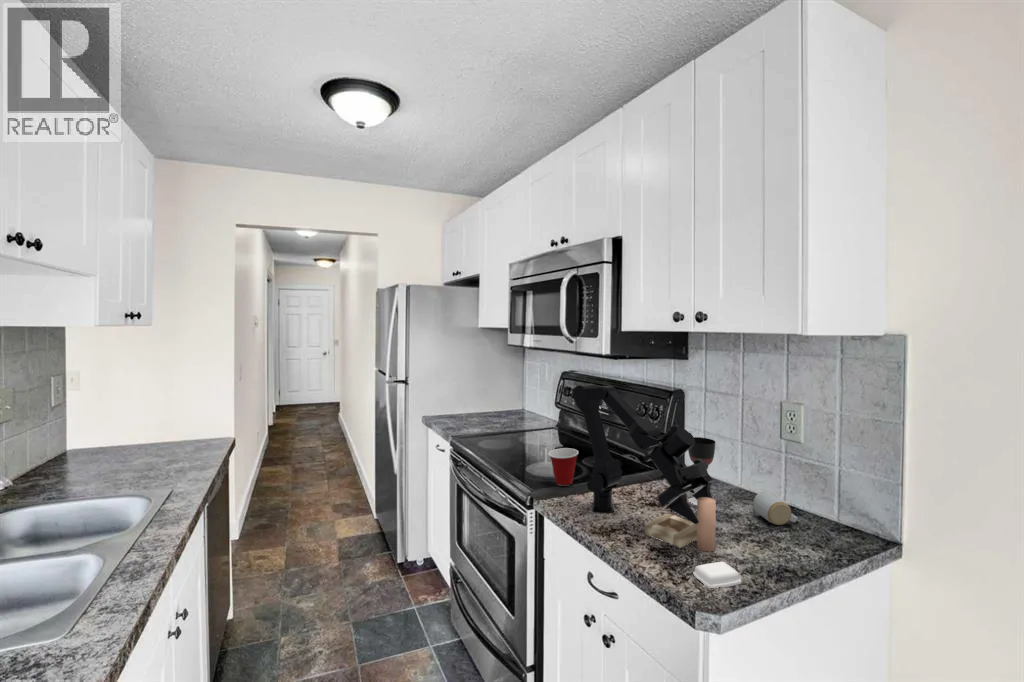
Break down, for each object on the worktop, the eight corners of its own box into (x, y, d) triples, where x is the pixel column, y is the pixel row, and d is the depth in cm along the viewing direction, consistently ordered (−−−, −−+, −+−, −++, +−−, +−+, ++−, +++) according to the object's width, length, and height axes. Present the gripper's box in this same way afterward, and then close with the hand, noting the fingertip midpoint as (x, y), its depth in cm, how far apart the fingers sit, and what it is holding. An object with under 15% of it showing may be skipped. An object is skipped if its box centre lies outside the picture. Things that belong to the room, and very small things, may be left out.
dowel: (694, 543, 128) (695, 496, 127) (712, 544, 127) (712, 497, 127) (699, 551, 123) (700, 503, 123) (717, 552, 123) (718, 503, 122)
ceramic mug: (768, 527, 137) (769, 500, 137) (752, 515, 146) (753, 490, 145) (804, 526, 138) (805, 500, 138) (786, 515, 146) (787, 490, 146)
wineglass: (698, 508, 151) (699, 444, 150) (681, 498, 160) (682, 438, 159) (720, 505, 153) (721, 442, 152) (702, 495, 162) (703, 436, 161)
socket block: (644, 534, 133) (644, 523, 133) (667, 523, 140) (667, 513, 140) (680, 548, 125) (681, 537, 125) (703, 536, 132) (703, 525, 132)
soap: (723, 570, 115) (723, 558, 115) (744, 585, 108) (744, 572, 108) (690, 575, 113) (690, 563, 112) (709, 591, 106) (709, 578, 106)
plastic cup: (543, 481, 177) (543, 448, 177) (570, 478, 180) (570, 446, 180) (555, 491, 167) (555, 456, 166) (583, 487, 170) (583, 454, 170)
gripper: (668, 456, 122) (709, 512, 114) (706, 444, 134) (746, 494, 126) (641, 479, 129) (679, 534, 121) (680, 465, 141) (716, 514, 132)
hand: (706, 518), depth 125 cm, fingers open, 9 cm apart
